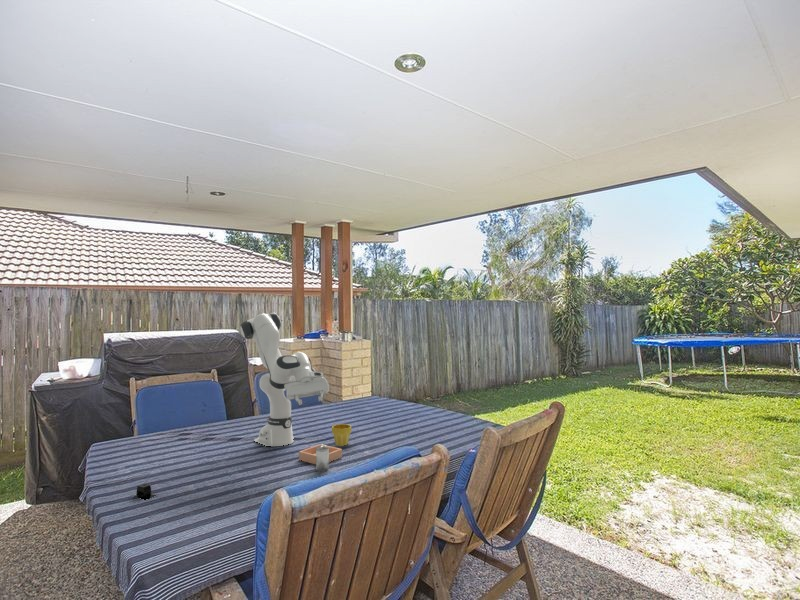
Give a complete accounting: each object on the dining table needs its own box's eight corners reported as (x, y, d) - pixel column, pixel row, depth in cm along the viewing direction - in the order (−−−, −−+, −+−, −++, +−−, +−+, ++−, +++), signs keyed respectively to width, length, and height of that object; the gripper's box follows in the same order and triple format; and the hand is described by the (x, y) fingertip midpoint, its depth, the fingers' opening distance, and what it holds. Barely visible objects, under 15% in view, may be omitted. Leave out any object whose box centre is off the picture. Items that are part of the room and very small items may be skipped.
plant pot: (333, 448, 231) (333, 429, 231) (330, 442, 241) (330, 424, 241) (352, 446, 234) (352, 427, 234) (349, 441, 243) (349, 423, 244)
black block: (163, 496, 170) (163, 484, 170) (146, 503, 163) (146, 491, 164) (140, 491, 175) (141, 479, 175) (123, 498, 168) (123, 486, 168)
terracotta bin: (298, 459, 212) (299, 451, 212) (320, 452, 224) (320, 444, 224) (321, 465, 204) (321, 456, 204) (342, 457, 216) (342, 449, 216)
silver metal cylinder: (313, 469, 198) (313, 445, 198) (322, 466, 203) (322, 442, 203) (322, 472, 195) (322, 447, 195) (331, 468, 200) (331, 444, 200)
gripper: (283, 378, 210) (288, 401, 200) (325, 372, 218) (332, 394, 208) (283, 387, 214) (288, 410, 204) (324, 380, 222) (331, 402, 212)
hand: (310, 402), depth 206 cm, fingers open, 8 cm apart
